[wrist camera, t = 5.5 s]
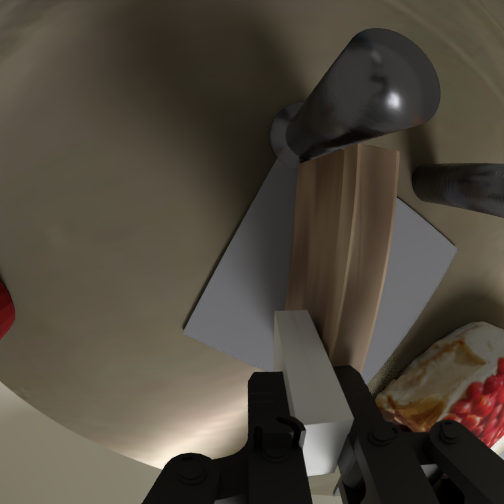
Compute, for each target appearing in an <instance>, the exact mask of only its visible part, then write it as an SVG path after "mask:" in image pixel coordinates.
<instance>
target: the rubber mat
mask: <svg viewBox="0 0 504 504" xmlns="http://www.w3.org/2000/svg"><path fill="white" fill-rule="evenodd" d="M296 186H297V171H296V170H293V169H291V168H289V167H288V166H286V165H285V164H284V163H283V162H281V160H280V159H279V158H277V160H276V162H275V163H274V165H273V167H272V169H271V170H270V172H269V174H268V176H267V177H266V179H265V181H264V183H263V184H262V186H261V188H260V190H259V192H258V193H257V195H256V197H255V199H254V201H253V202H252V204H251V206H250V208H249V210H248V211H247V213H246V215H245V217H244V219H243V220H242V222H241V224H240V226H239V228H238V229H237V231H236V233H235V235H234V237H233V239H232V240H231V242H230V244H229V246H228V248H227V250H226V251H225V253H224V255H223V257H222V259H221V261H220V263H219V264H218V266H217V268H216V270H215V272H214V274H213V276H212V277H211V279H210V281H209V283H208V285H207V287H206V289H205V291H204V293H203V294H202V296H201V298H200V300H199V302H198V304H197V306H196V308H195V310H194V312H193V313H192V315H191V317H190V319H189V321H188V323H187V325H186V327H185V329H184V331H183V334H185V335H187V336H189V337H191V338H193V339H195V340H197V341H199V342H202V343H204V344H206V345H208V346H210V347H212V348H214V349H216V350H218V351H221V352H223V353H225V354H227V355H229V356H232V357H234V358H236V359H239V360H241V361H243V362H245V363H248V364H250V365H253V366H255V367H257V368H260V369H262V370H265V371H267V372H274V366H273V347H274V319H275V311H285V306H286V297H287V288H288V278H289V268H290V258H291V247H292V236H293V225H294V212H295V199H296ZM457 250H458V249H457V248H456V247H455V246H454V245H453V244H452V243H450V242H449V241H448V240H447V239H446V238H445V237H444V236H443V235H442V234H441V233H439V232H438V231H437V230H436V229H435V228H434V227H433V226H431V225H430V224H429V223H428V222H427V221H425V220H424V219H423V218H422V217H421V216H419V215H418V214H417V213H416V212H415V211H413V210H412V209H411V208H410V207H408V206H407V205H406V204H405V203H403V202H402V201H401V200H400V199H398V198H396V208H395V217H394V226H393V233H392V240H391V247H390V253H389V260H388V265H387V271H386V276H385V282H384V287H383V291H382V296H381V301H380V305H379V310H378V314H377V318H376V322H375V326H374V330H373V334H372V338H371V342H370V345H369V349H368V352H367V356H366V359H365V362H364V366H363V369H362V372H361V376H362V378H363V380H364V381H365V384H366V385H367V384H368V383H369V381H370V380H371V379H372V378H373V377H374V375H375V374H376V373H377V372H378V371H379V369H380V368H381V367H382V366H383V364H384V363H385V362H386V361H387V359H388V358H389V357H390V356H391V354H392V353H393V352H394V350H395V349H396V348H397V346H398V345H399V344H400V342H401V341H402V340H403V338H404V337H405V335H406V334H407V333H408V331H409V330H410V328H411V327H412V325H413V324H414V322H415V321H416V320H417V318H418V317H419V315H420V314H421V312H422V310H423V309H424V307H425V306H426V304H427V303H428V301H429V299H430V298H431V296H432V295H433V293H434V291H435V290H436V288H437V286H438V285H439V283H440V281H441V279H442V278H443V276H444V274H445V272H446V271H447V269H448V267H449V265H450V263H451V261H452V260H453V258H454V256H455V254H456V252H457Z"/></svg>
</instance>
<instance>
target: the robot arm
mask: <svg viewBox="0 0 504 504" xmlns="http://www.w3.org/2000/svg"><path fill="white" fill-rule="evenodd" d="M273 366H274V372H254V373H253V374H252V376H251V377H250V379H249V381H248V440H247V442H246V444H245V446H244V447H243V448H242V449H241V450H240V451H238V452H237V453H235V454H233V455H230V456H227V457H223V458H218V459H213V460H212V459H211V458H209V457H207V456H205V455H202V454H198V453H185V454H180V455H178V456H176V457H174V458H171V460H170V461H169V462H168V463H167V464H166V465H165V467H164V468H163V470H162V472H161V473H160V475H159V476H158V478H157V480H156V482H155V483H154V485H153V486H152V488H151V490H150V491H149V493H148V494H147V496H146V498H145V499H144V501H143V503H142V504H313V503H312V498H311V492H310V487H309V482H308V476H313V475H321V474H327V473H334V472H335V469H336V467H337V464H338V467H339V470H340V474H341V476H340V478H339V480H338V483H337V485H336V487H335V489H334V491H333V496H337V494H338V493H339V491H340V494H341V498H342V502H343V504H504V460H503V459H502V458H501V457H499V456H498V455H497V454H496V453H495V452H494V451H493V450H491V449H490V448H489V447H488V446H487V445H486V444H484V443H483V442H482V441H481V440H480V439H479V438H478V437H476V436H475V435H474V434H473V433H472V432H471V431H469V430H468V429H467V428H466V427H465V426H464V425H462V424H461V423H459V422H457V421H454V420H450V419H447V420H441V421H438V422H436V423H435V424H434V425H433V426H432V427H431V429H430V430H429V432H403V431H402V430H401V429H400V428H399V427H398V426H397V425H396V424H394V423H392V422H389V421H385V419H384V417H383V416H382V414H381V412H380V410H379V408H378V406H377V404H376V402H375V400H374V398H373V396H372V395H371V393H370V392H369V389H368V387H367V385H366V384H365V381H364V380H363V378H362V376H361V374H360V372H358V371H357V370H356V369H354V368H353V367H352V366H351V365H346V366H337V367H332V365H331V363H330V361H329V358H328V356H327V354H326V351H325V349H324V347H323V344H322V342H321V340H320V338H319V335H318V333H317V331H316V328H315V326H314V324H313V322H312V319H311V317H310V315H309V313H308V310H290V311H275V319H274V347H273ZM444 474H445V475H444Z"/></svg>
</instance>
